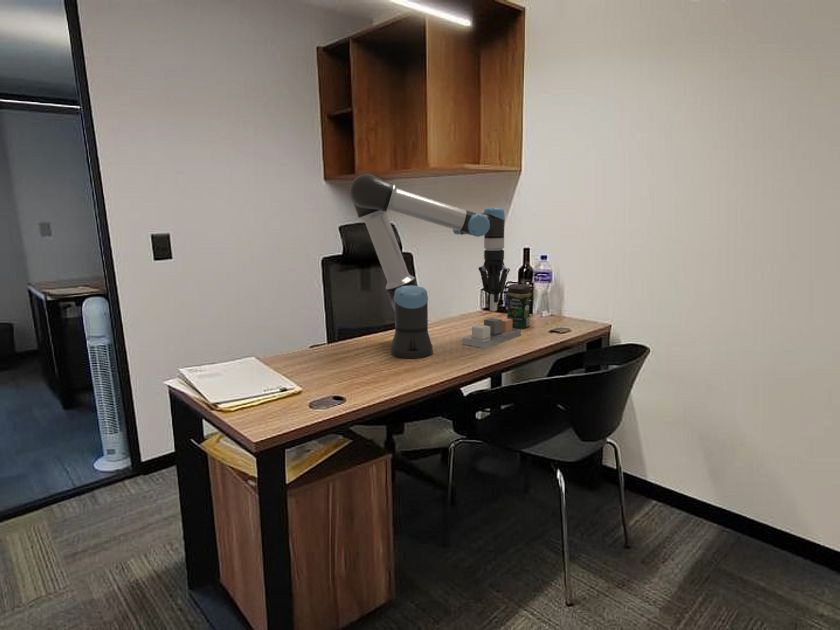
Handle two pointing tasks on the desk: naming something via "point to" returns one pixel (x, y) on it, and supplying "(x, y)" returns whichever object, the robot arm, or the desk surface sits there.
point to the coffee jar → (519, 305)
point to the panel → (492, 339)
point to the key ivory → (481, 332)
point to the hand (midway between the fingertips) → (493, 310)
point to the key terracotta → (506, 324)
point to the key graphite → (494, 325)
